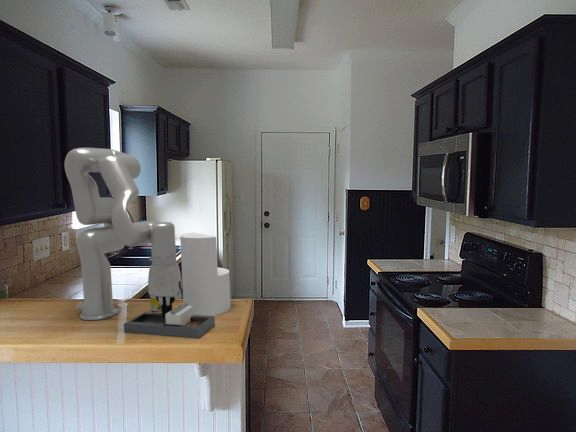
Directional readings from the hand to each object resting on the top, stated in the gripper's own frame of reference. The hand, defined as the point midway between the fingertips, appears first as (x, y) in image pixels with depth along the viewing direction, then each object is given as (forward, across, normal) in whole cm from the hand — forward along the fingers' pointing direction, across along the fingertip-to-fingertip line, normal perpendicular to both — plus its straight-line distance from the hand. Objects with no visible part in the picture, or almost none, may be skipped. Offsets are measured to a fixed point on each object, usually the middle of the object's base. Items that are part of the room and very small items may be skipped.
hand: (167, 315), depth 140 cm
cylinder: (+4, +4, +22) cm, 23 cm away
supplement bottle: (+4, -14, +18) cm, 23 cm away
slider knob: (+2, +5, 0) cm, 5 cm away
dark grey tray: (+4, +1, 0) cm, 4 cm away
